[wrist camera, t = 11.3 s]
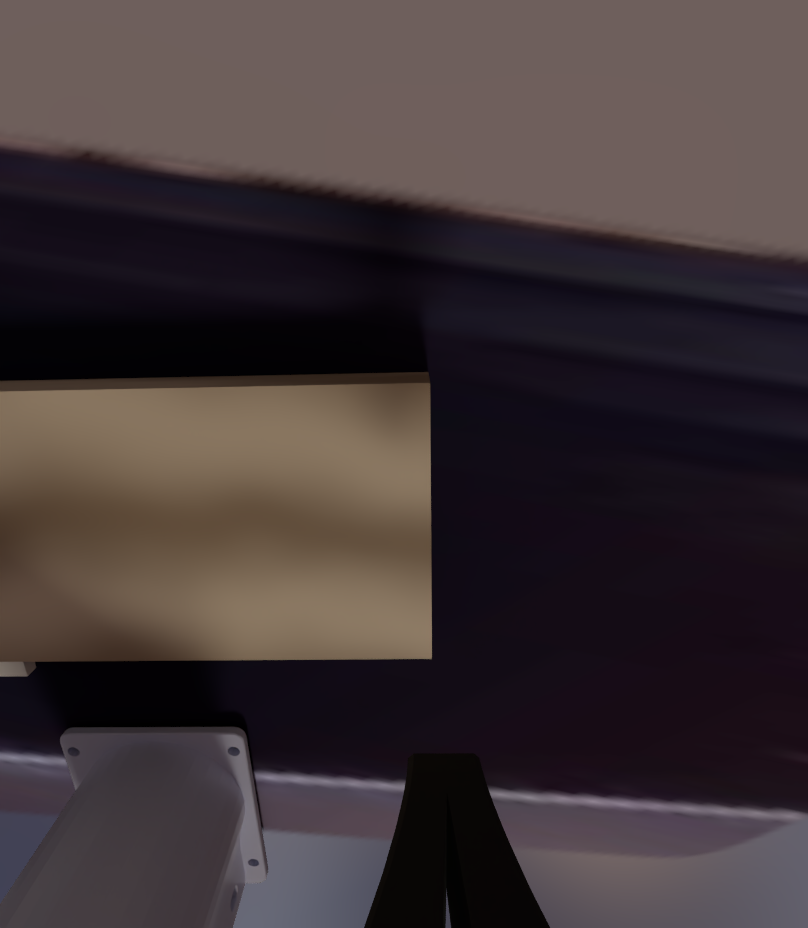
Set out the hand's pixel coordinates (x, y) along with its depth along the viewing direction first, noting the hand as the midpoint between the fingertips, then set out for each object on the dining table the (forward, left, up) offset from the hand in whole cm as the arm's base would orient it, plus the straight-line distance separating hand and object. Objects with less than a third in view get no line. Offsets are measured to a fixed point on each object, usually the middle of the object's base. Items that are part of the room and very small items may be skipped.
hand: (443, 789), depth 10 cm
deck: (+2, +8, -9) cm, 13 cm away
